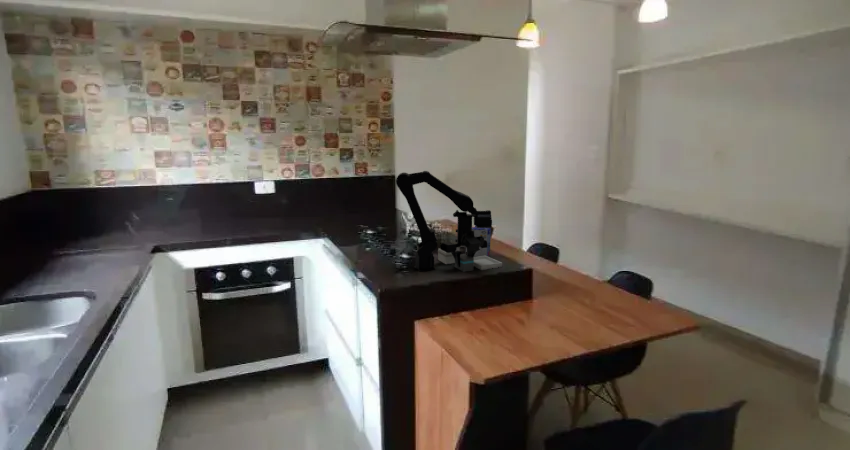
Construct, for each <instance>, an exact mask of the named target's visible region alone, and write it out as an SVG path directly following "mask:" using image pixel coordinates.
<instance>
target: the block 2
mask: <svg viewBox="0 0 850 450" xmlns="http://www.w3.org/2000/svg"><path fill="white" fill-rule="evenodd" d="M473 265H474V258H472V257H470V256H468V255H466V253H461V254H460V267H458V266H457V264H456V262H455V263H454V268H456V269H457V270H460V271H461V272H464V273H465V272H470V271H474V267H473Z"/></svg>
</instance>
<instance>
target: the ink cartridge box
mask: <svg viewBox="0 0 850 450" xmlns="http://www.w3.org/2000/svg"><path fill="white" fill-rule="evenodd" d="M472 231H474V236H475V237H479V236H483V237H484V240H486V241H487V243H488V247H487V248H481V247H479V249H480V250H479V251H477V252H476V253H475V255H474V257H478V256H488V257H490V256H491V241H492V240H491V236H492V227H491V228H477V227H476V225H474V226H472ZM466 252H467V247H465V253H466Z"/></svg>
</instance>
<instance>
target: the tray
mask: <svg viewBox="0 0 850 450" xmlns="http://www.w3.org/2000/svg"><path fill="white" fill-rule="evenodd" d="M473 258H474V265H473V268H476V269H478V270H480V271H486V270H492V268H493V269H497V268H498V267H499V268H502V267H503V262H502V261H499V260H497V259H494V258H492V257H490V256H478V257H477V256H474V257H473ZM499 268H498V269H499Z"/></svg>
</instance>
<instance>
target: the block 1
mask: <svg viewBox="0 0 850 450" xmlns="http://www.w3.org/2000/svg"><path fill="white" fill-rule="evenodd" d="M437 260H438V261H439V262H441V263H443V264H445V265H448V264H449V265H450V264H451V265H452V264H455V259H454V257H453V255H452V253H451V252H450V253H447V252H445V251H443V250H441V249H440V248H438V249H437Z"/></svg>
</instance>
